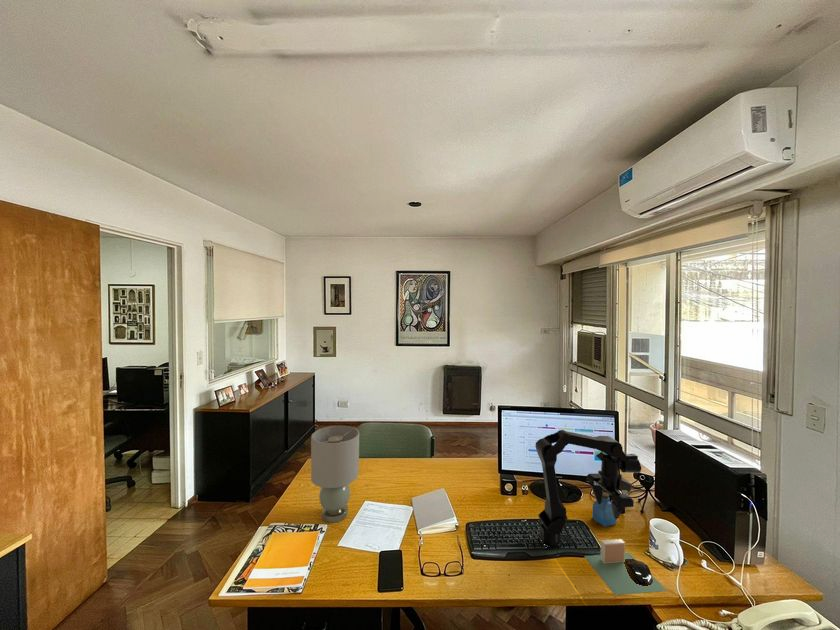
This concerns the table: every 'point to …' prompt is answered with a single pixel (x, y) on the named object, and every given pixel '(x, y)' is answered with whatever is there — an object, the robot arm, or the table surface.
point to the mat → (620, 577)
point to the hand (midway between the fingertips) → (607, 511)
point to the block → (612, 551)
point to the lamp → (334, 468)
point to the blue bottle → (604, 511)
